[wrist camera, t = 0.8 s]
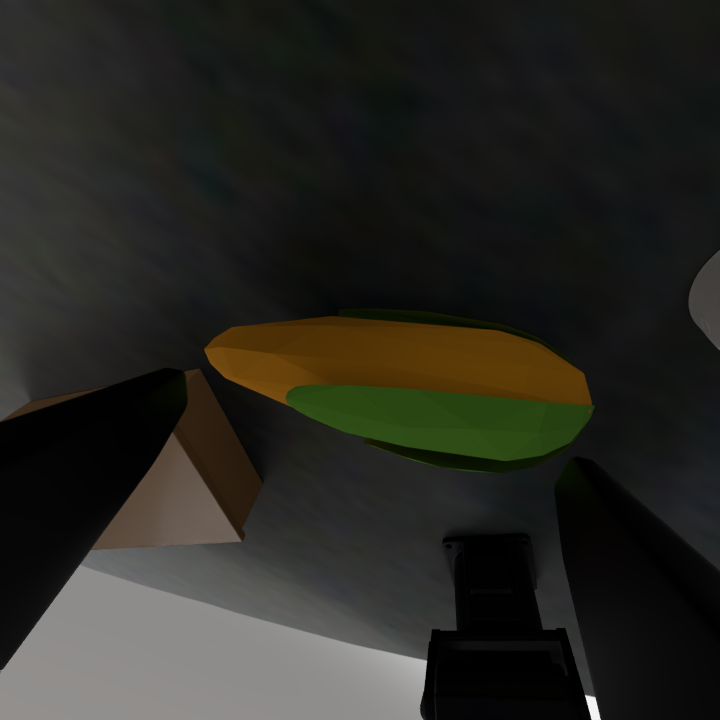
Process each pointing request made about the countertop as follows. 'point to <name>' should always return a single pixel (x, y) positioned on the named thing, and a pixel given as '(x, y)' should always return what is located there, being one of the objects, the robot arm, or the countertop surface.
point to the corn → (417, 384)
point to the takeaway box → (185, 480)
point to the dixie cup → (707, 299)
